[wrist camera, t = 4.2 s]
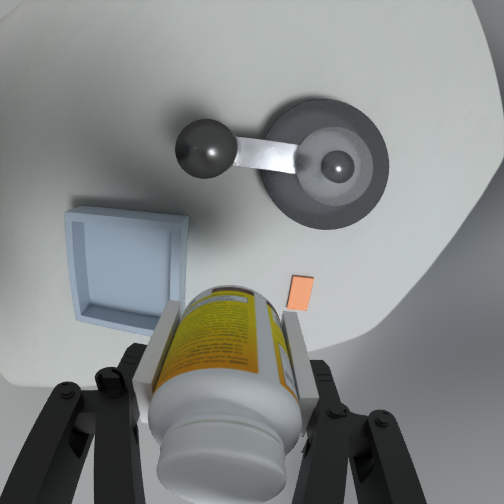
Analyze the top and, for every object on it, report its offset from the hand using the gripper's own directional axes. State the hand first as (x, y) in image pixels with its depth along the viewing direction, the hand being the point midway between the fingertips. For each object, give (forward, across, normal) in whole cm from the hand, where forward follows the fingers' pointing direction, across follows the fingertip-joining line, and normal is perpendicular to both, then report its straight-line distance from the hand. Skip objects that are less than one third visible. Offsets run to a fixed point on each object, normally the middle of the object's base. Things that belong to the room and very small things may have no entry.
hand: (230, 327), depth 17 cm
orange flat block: (+12, +6, -3) cm, 14 cm away
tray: (+12, -10, -3) cm, 16 cm away
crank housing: (+12, +7, +9) cm, 16 cm away
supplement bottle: (0, 0, 0) cm, 0 cm away
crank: (+10, +3, +9) cm, 14 cm away
